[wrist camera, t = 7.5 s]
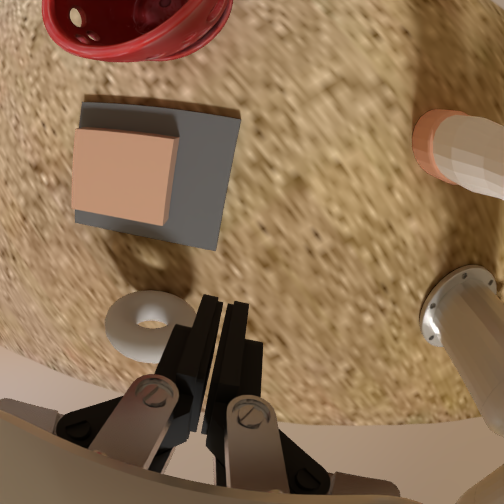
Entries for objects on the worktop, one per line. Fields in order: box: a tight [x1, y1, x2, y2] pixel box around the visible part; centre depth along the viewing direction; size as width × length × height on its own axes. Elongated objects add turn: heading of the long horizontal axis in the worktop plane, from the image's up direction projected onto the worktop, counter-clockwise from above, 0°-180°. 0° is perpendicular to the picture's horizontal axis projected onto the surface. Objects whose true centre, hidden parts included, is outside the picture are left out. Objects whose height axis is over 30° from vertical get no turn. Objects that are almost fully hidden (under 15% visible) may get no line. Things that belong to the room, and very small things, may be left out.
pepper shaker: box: [412, 109, 504, 200], centre depth 18 cm, size 7×7×19 cm
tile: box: [72, 127, 180, 226], centre depth 27 cm, size 2×8×10 cm
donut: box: [105, 290, 196, 363], centre depth 31 cm, size 10×4×10 cm, turn 80°
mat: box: [75, 102, 241, 251], centre depth 29 cm, size 16×13×1 cm
